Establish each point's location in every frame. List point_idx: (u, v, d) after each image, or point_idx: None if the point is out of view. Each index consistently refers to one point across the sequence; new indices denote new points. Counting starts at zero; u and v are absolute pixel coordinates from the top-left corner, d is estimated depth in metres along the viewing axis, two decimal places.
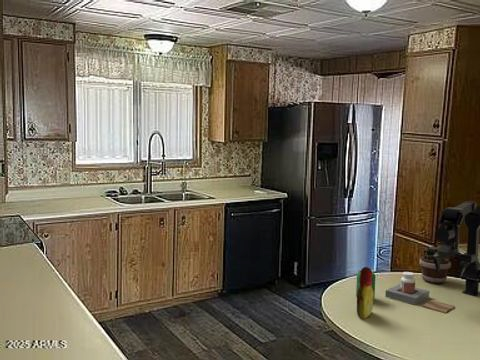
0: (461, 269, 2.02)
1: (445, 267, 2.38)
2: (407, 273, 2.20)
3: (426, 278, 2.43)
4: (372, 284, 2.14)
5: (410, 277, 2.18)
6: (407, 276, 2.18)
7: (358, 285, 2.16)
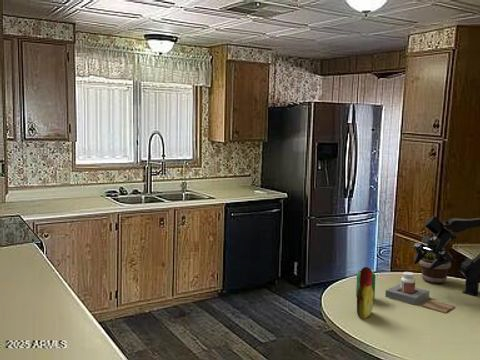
0: (434, 261, 2.19)
1: (445, 267, 2.38)
2: (407, 273, 2.20)
3: (426, 278, 2.43)
4: (372, 284, 2.14)
5: (410, 277, 2.18)
6: (407, 276, 2.18)
7: (358, 285, 2.16)
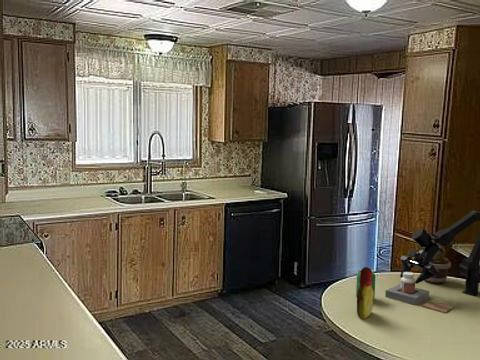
0: (420, 275, 2.16)
1: (445, 267, 2.38)
2: (407, 273, 2.20)
3: None
4: (372, 284, 2.14)
5: (410, 277, 2.18)
6: (407, 276, 2.18)
7: (358, 285, 2.16)
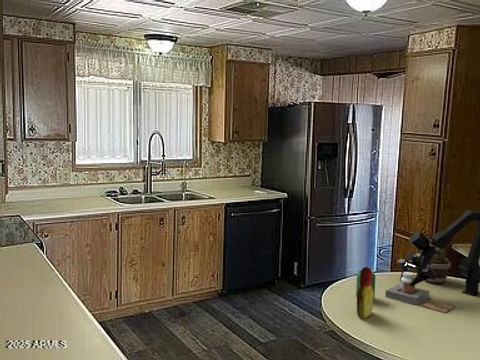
0: (415, 278, 2.17)
1: (445, 267, 2.38)
2: (407, 273, 2.20)
3: None
4: (372, 284, 2.14)
5: (410, 277, 2.18)
6: (407, 276, 2.18)
7: (358, 285, 2.16)
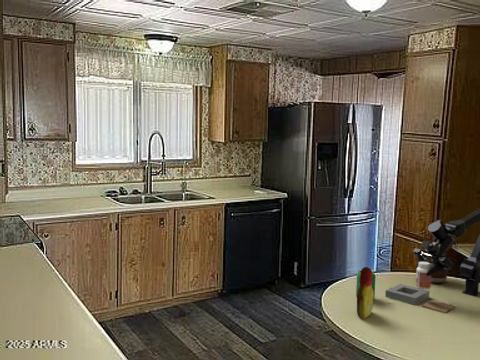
0: (431, 267, 2.10)
1: None
2: (423, 263, 2.13)
3: None
4: (372, 284, 2.14)
5: (426, 267, 2.12)
6: (423, 266, 2.12)
7: (358, 285, 2.16)
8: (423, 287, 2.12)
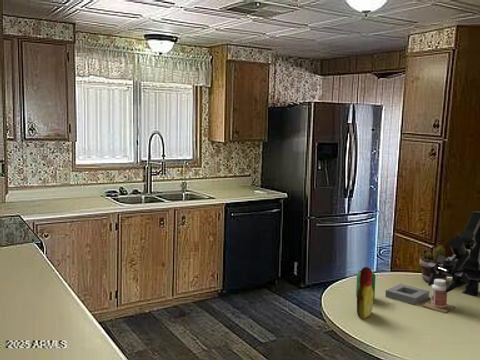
0: (450, 284, 2.03)
1: None
2: (439, 280, 2.08)
3: (426, 278, 2.43)
4: (372, 284, 2.14)
5: (442, 284, 2.06)
6: (439, 283, 2.06)
7: (358, 285, 2.16)
8: (439, 305, 2.06)
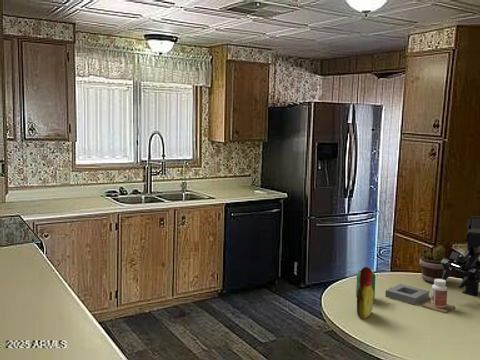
0: (464, 280, 2.07)
1: None
2: (439, 280, 2.08)
3: (426, 278, 2.43)
4: (372, 284, 2.14)
5: (442, 284, 2.06)
6: (439, 283, 2.06)
7: (358, 285, 2.16)
8: (439, 305, 2.06)
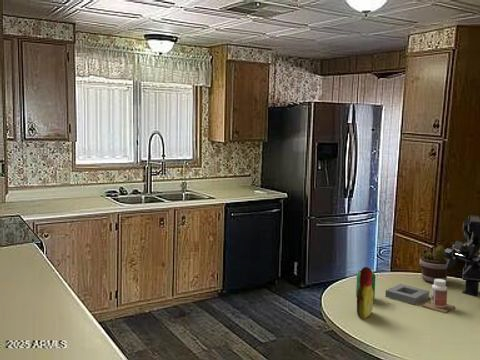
0: (467, 268, 2.08)
1: (445, 267, 2.38)
2: (439, 280, 2.08)
3: (426, 278, 2.43)
4: (372, 284, 2.14)
5: (442, 284, 2.06)
6: (439, 283, 2.06)
7: (358, 285, 2.16)
8: (439, 305, 2.06)
